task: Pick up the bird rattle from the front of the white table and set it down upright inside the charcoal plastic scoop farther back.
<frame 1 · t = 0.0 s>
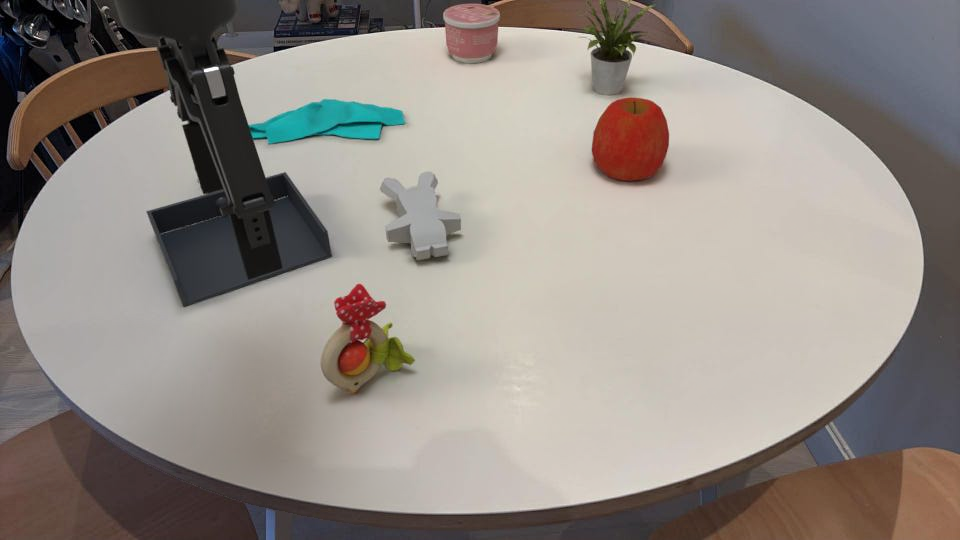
hand: (239, 227, 58), 20 cm above the table, tool pointing down, fingers open, 13 cm apart
scoop: (242, 247, 88), on the table
cloth: (325, 123, 114), on the table
apple: (626, 168, 103), on the table
bunny figurine: (420, 230, 91), on the table
house plant: (599, 89, 123), on the table
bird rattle: (369, 378, 72), on the table
container: (471, 55, 134), on the table
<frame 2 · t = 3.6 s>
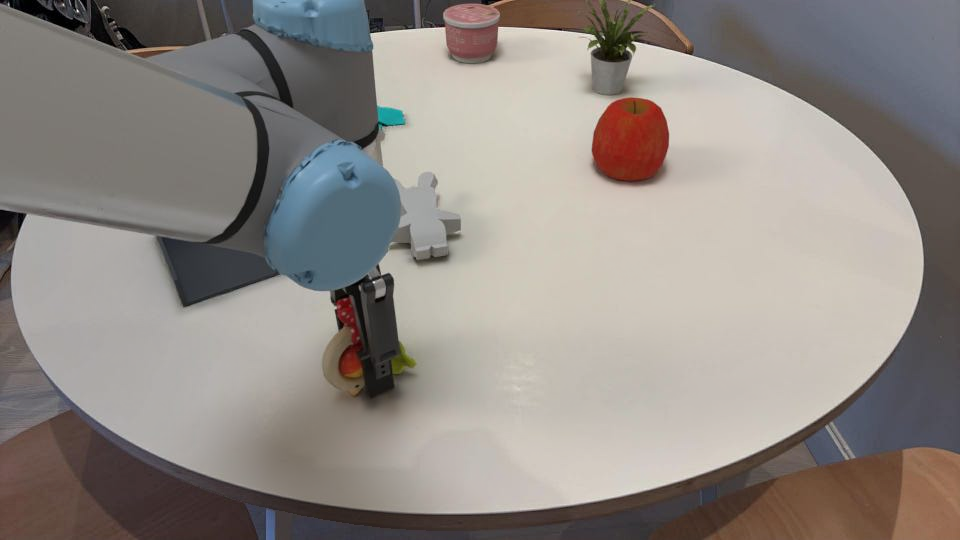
hand: (367, 370, 72), 1 cm above the table, tool pointing down, fingers closed on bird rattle, 5 cm apart
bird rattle: (371, 380, 71), on the table, touching gripper
everything else where it was.
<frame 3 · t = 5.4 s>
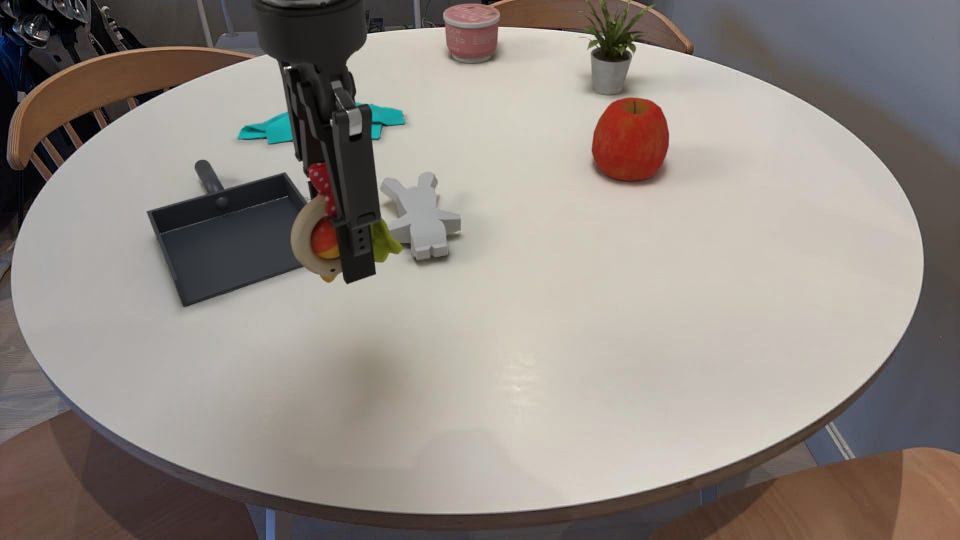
hand: (346, 257, 62), 15 cm above the table, tool pointing down, fingers closed on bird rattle, 5 cm apart
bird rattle: (350, 269, 62), point 15 cm above the table, touching gripper
everything else where it was.
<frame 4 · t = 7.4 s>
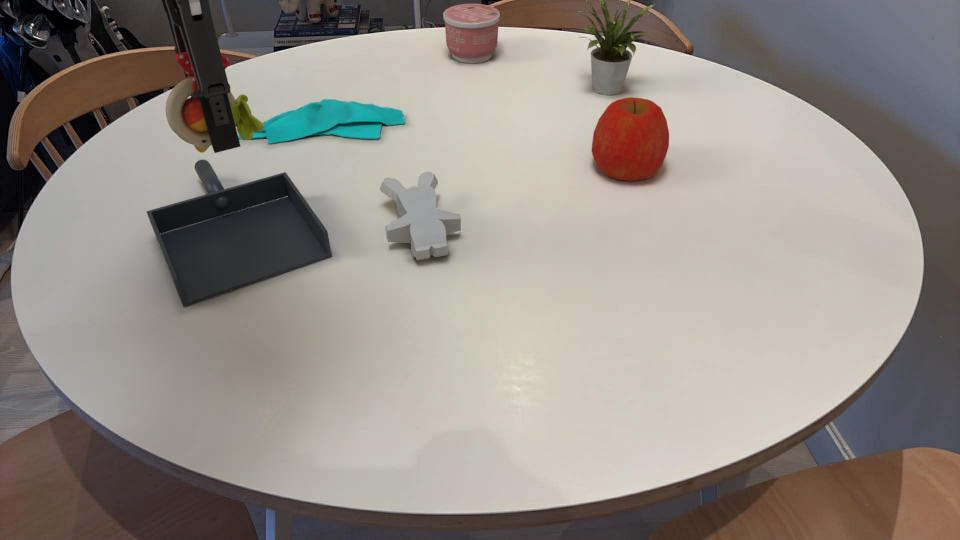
hand: (219, 135, 76), 17 cm above the table, tool pointing down, fingers closed on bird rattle, 5 cm apart
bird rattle: (222, 144, 76), point 16 cm above the table, touching gripper
everything else where it was.
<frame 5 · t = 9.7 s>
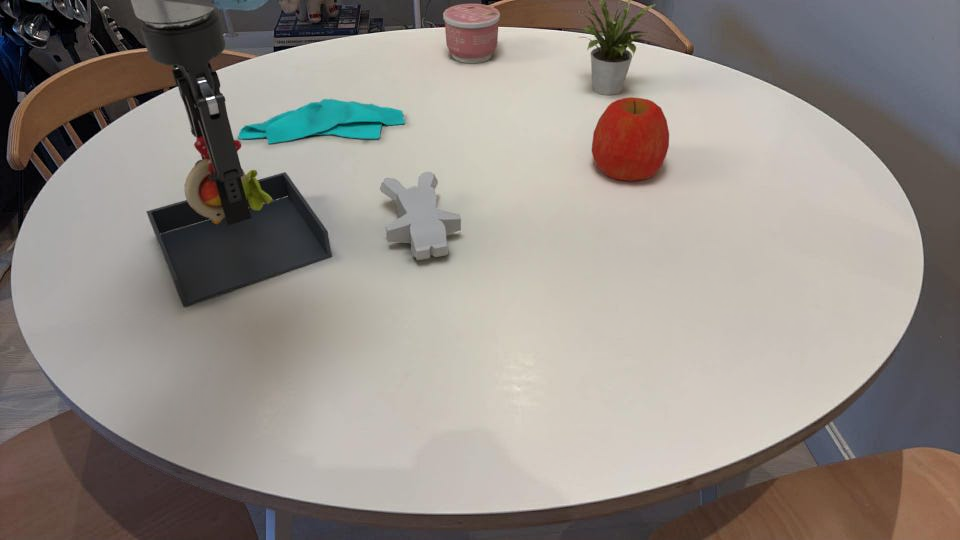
hand: (231, 207, 84), 6 cm above the table, tool pointing down, fingers closed on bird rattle, 5 cm apart
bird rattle: (234, 215, 84), point 5 cm above the table, touching gripper
everything else where it was.
when the fingers open (1 cm above the table, at t = 11.3 s): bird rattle stays where it is, resting on scoop.
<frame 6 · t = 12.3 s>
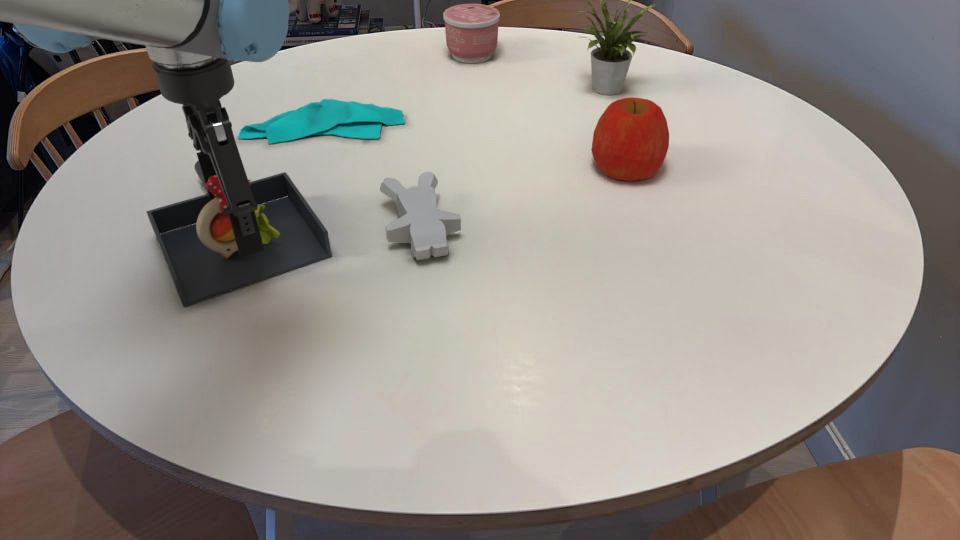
hand: (235, 222, 86), 4 cm above the table, tool pointing down, fingers open, 13 cm apart
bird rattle: (244, 249, 87), resting on scoop
everything else where it was.
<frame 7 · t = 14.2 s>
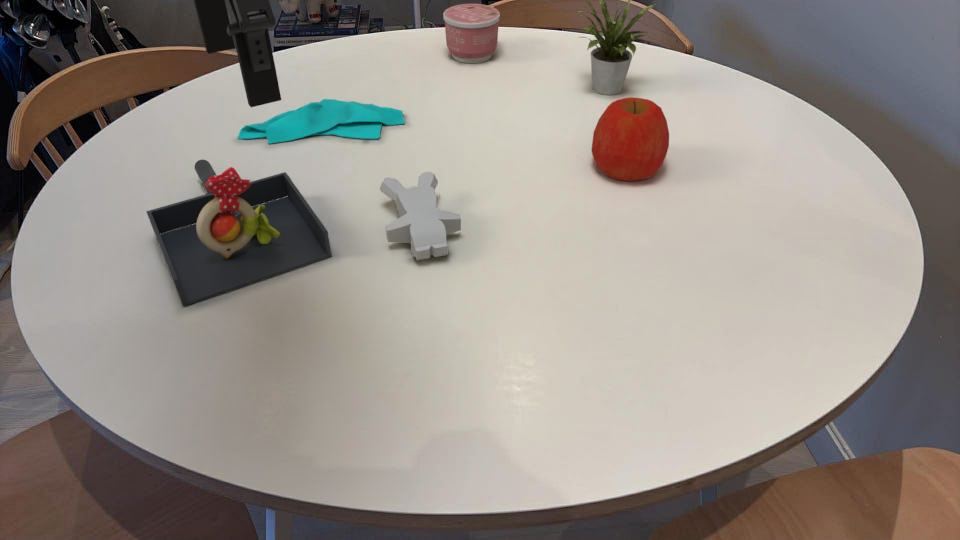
hand: (241, 74, 65), 27 cm above the table, tool pointing down, fingers open, 13 cm apart
nothing on the table moved.
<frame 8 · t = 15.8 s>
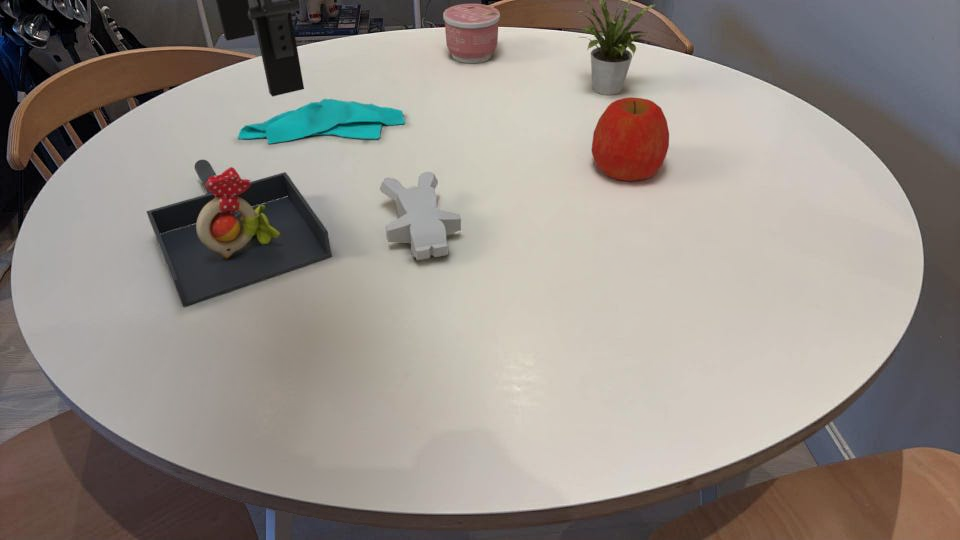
hand: (261, 62, 62), 29 cm above the table, tool pointing down, fingers open, 13 cm apart
nothing on the table moved.
at the end: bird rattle inside the target area in the scoop (0.8 cm from its centre), point 0.3 cm above the scoop's base; the gripper is holding nothing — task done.
